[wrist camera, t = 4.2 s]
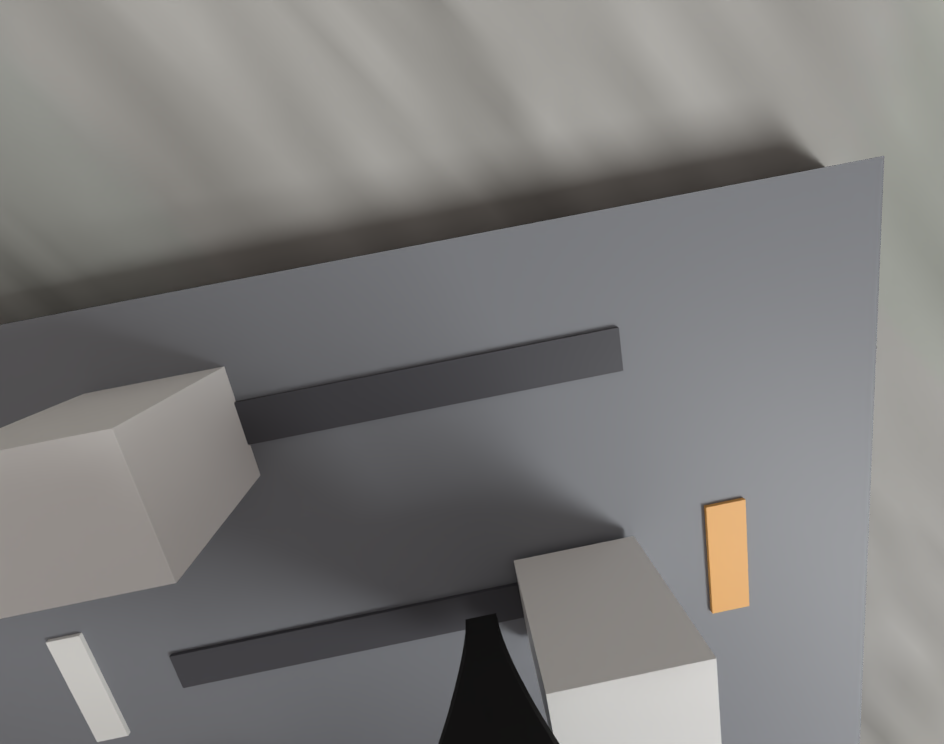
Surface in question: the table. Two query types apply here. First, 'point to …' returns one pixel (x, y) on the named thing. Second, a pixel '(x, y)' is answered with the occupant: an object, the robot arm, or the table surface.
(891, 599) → the table surface
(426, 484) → the breaker panel
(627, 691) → the handle
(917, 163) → the table surface
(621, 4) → the table surface
